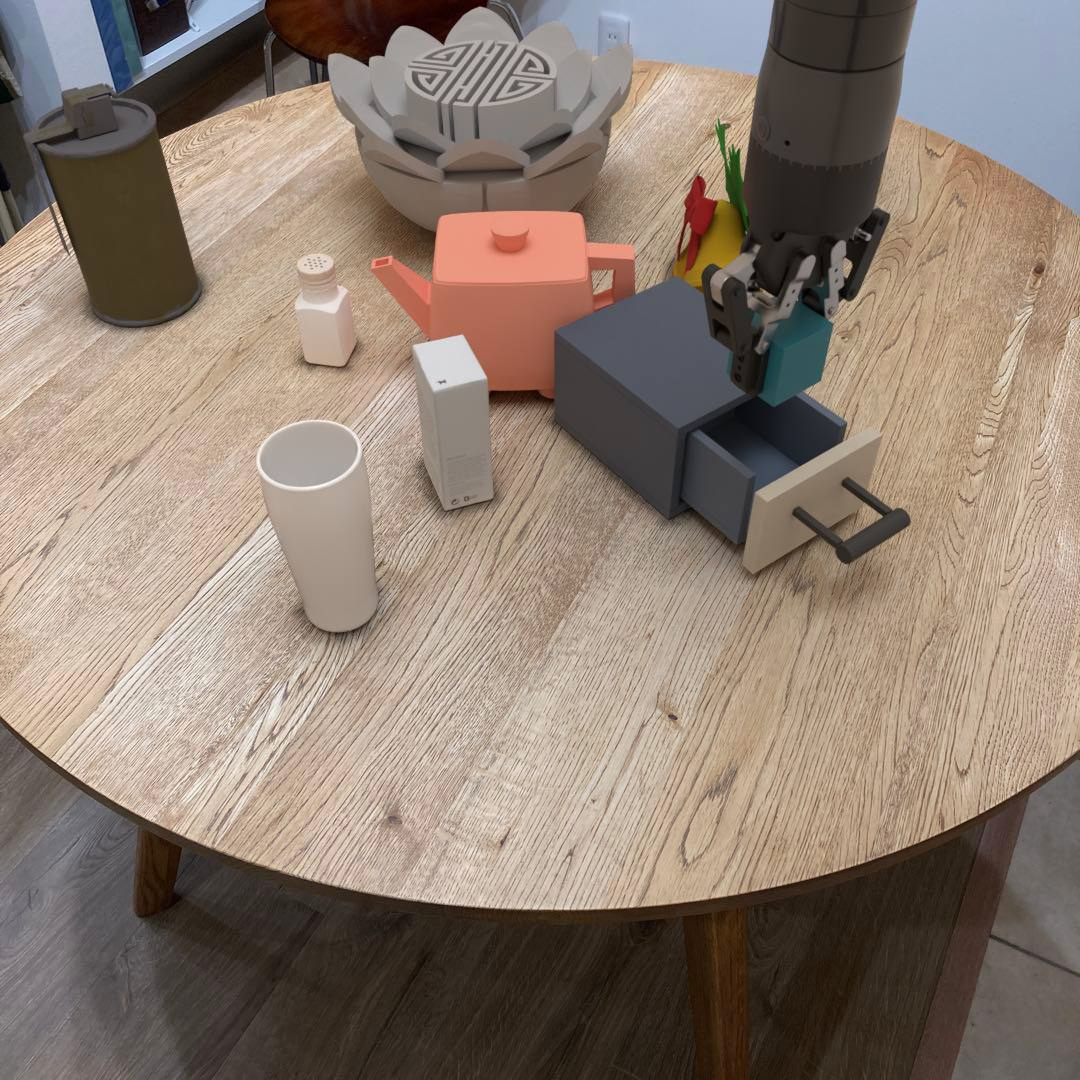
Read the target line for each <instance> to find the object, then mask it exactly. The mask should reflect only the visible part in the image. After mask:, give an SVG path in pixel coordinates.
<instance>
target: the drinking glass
mask: <svg viewBox="0 0 1080 1080" xmlns="http://www.w3.org/2000/svg"><path fill="white" fill-rule="evenodd" d="M360 439H361V438H359V436H358V435H357V434H356V432H354V431H353V430H352V429H351V428H349V427H348V426H346V425H344V424H342V423H340V422H336V421H333V420H326V419H306V420H300V421H296V422H293V423H289V424H287V425H285V426H283V427H281V428H278V429H277V430H275V431H274V432H272V433H271V434H270V435H268V436H267V437H266V438H265V440H264V441H262V443H261V445H260V446H259V448H258V450H257V452H256V456H255V467H256V471H257V476H258V481H259V486H260V491H261V494H262V498H263V503H264V505H265V508H266V511H267V515H268V517H269V521H270V523H271V526H272V528H273V531H274V533H275V536H276V538H277V541H278V543H279V546H280V548H281V550H282V553H283V556H284V558H285V561H286V564H287V566H288V569H289V570H290V574H291V576H292V578H293V581H294V584H295V586H296V588H297V591H298V594H299V596H300V600H301V603H302V607H303V611H304V614H305V616H306V618H307V619H308V621H309V622H310V623H311V624H312V625H314V626H315V627H316V628H318V629H320V630H322V631H325V632H330V633H345V632H350V631H353V630H356V629H358V628H360V627H362V626H363V625H365V624H367V622H368V621H370V620H371V619H372V618H373V616H374V614H375V613H376V611H377V608H378V605H379V598H380V597H379V590H378V583H377V576H376V558H375V542H374V522H373V521H374V518H373V502H372V491H371V490H372V489H371V483H370V478H369V471H368V466H367V461H366V457H365V454H364V453H365V452H364V449H363V445H362V442H361V440H360Z"/></svg>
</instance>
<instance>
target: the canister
mask: <svg viewBox="0 0 1080 1080" xmlns="http://www.w3.org/2000/svg"><path fill="white" fill-rule="evenodd" d="M60 95H61V103H62V105H61V106H58V107H55V108H54V109H52V110H50V111H48V112H47V113H45V114H43V115H42V116H40V117H39V118H38V119H37V120H36V122H35V123H34V124H33V125H32V127H31V129H30V131H28V132H24V133H23V135H22V138H23V140H24V143H25V146H26V149H27V151H28V154H29V157H30V160H31V162H32V165H33V168H34V170H35V173H36V176H37V179H38V182H39V184H40V187H41V189H42V192H43V196H44V199H45V200H46V203H47V206H48V208H49V211H50V214H51V217H52V220H53V223H54V225H55V227H56V228H55V229H56V230H57V234H58V235H59V238H60V241H61V244H62V247H63V249H64V250H65V253H67V255H68V256H69V258H70V259H72V256H71V253H70V250H69V247H68V246H67V242H66V240H65V237H64V234H63V232H62V228H61V226H60V224H59V221H58V218H57V215H56V212H55V209H54V206H53V204H52V201H51V198H50V195H49V193H48V190H47V188H46V185H45V182H44V179H43V177H42V174H41V171H40V168H39V166H38V163H37V160H36V158H35V154H34V152H33V149H32V145H33V146H34V148H35V149H36V150H37V152H38V155H39V157H40V161H41V163H42V166H43V169H44V172H45V174H46V177H47V181H48V183H49V186H50V188H51V191H52V194H53V197H54V199H55V203H56V205H57V208H58V211H59V214H60V217H61V219H62V222H63V225H64V227H65V229H66V232H67V236H68V239H69V241H70V244H71V246H72V249H73V252H74V255H75V258H76V261H77V263H78V267H79V268H80V271H81V275H82V277H83V280H84V282H85V285H86V288H87V292H88V295H89V297H90V306H91V309H92V312H94V313H95V315H96V316H97V317H99V319H101V320H103V321H105V322H106V323H109V324H112V325H117V326H121V327H148V326H153V325H158V324H161V323H164V322H166V321H171V320H174V319H175V318H177V317H179V316H180V315H182V314H184V313H185V312H187V311H188V310H190V308H192V307H193V306H194V305H195V303H197V301H199V299H200V295H201V293H202V286H203V285H202V282H201V278H200V277H199V275H198V274H197V272H196V268H195V263H194V262H193V257H192V254H191V253H192V252H191V249H190V246H189V242H188V238H187V235H186V232H185V227H184V224H183V220H182V216H181V213H180V209H179V206H178V202H177V199H176V195H175V191H174V187H173V184H172V180H171V177H170V172H169V169H168V166H167V162H166V159H165V154H164V151H163V147H162V144H161V140H160V137H159V133H158V129H157V116H156V113H155V111H154V110H153V109H152V107H150V106H149V105H147V104H146V103H143V102H141V101H138V100H136V99H133V98H124V97H120V95H121V94H120V93H117V92H116V91H115V90H114V87H113V86H111V85H109V84H108V83H97V84H93V85H90V86H87V87H86V86H85V87H83V88H78V87H73V88H69V89H65V90H62V91H61V94H60Z"/></svg>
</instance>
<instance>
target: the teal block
mask: <svg viewBox="0 0 1080 1080" xmlns="http://www.w3.org/2000/svg"><path fill="white" fill-rule="evenodd" d="M770 298H771V299H773V300H774V301H776V300H777V298H778V297H775V296H772V297H770ZM761 322H762V317H761V315H760V314H758V313H757V312H755V315H754V317H753V320H752V322H751V325H753V326H754V327H756V328H757V329H759V327H760V324H761ZM834 326H835V324H834V322H832V321H830V319H829V320H827V319H826V318H824V317H823V316H821V315H819V314H818V313H816V312H815V311H813V310H812V309H810V308H808V307H807V306H805V305H804V304H802V303H801V302H799V301H798V299H797V300H796V302H795V305H794V307H793V310H792V312H791V315H790V317H789V318H788V319H787V320H784V321H781V322H780V323H779V326H778V328H777V331H776V333H775V336H774V338H773V341H772V343H771V346H770V348H769V349H770V354H769V360H768V366H767V371H766V377H765V382H764V388H763V392H762V393H760V394H758V395H757V396H759V397H760V398H761V399H763V400H764V401H766V402H767V403H768V404H770V405H771V406H773V407H775V406H777V405H778V404H780V403H782V402H784V401H786V400H787V399H789V398H791V397H793V396H795V395H797V394H798V393H800V392H802V391H803V392H805V390H807V389H810V388H811V387H813V386H814V385H816V384H819V383H820V382H822V378H823V374H824V370H825V366H826V361H827V357H828V353H829V349H830V348H829V347H830V343H831V338H832V334H833V330H834ZM732 358H733V352H732V351H730V352H729V359H728V366H727V374H728V375H730V371H731V365H732Z"/></svg>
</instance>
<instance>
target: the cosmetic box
mask: <svg viewBox="0 0 1080 1080" xmlns="http://www.w3.org/2000/svg"><path fill="white" fill-rule="evenodd" d="M411 351H412V359H413V369H414V378H415V379H414V380H415V389H416V390H415V391H416V397H417V398H416V399H417V407H418V416H419V425H420V435H421V445H422V453H423V463H424V466H425V469H426V471H427V474H428V476H429V478H430V481H431V482H432V485H433V487H434V490H435V492H436V494H437V497H438V499H439V501H440V504H441V506H442V508H443V510H444V511H450V510H454V509H458V508H462V507H466V506H470V505H473V504H477V503H482V502H485V501H490V500H492V499H494V497H495V495H494V475H493V473H494V472H493V455H492V437H491V436H492V435H491V418H490V417H491V416H490V397H489V396H490V394H489V395H488V379H487V376H486V375H485V373H484V371H483V369H482V367H481V365H480V364H479V362H478V360H477V358H476V357H475V355H474V353H473V351H472V350H471V348H470V346H469V344H468V342H467V341H466V339H465V337H464V335H458V336H453V337H449V338H444V339H439V340H435V341H430V340H429V341H426V342H421V343H416V344H412V346H411Z"/></svg>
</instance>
